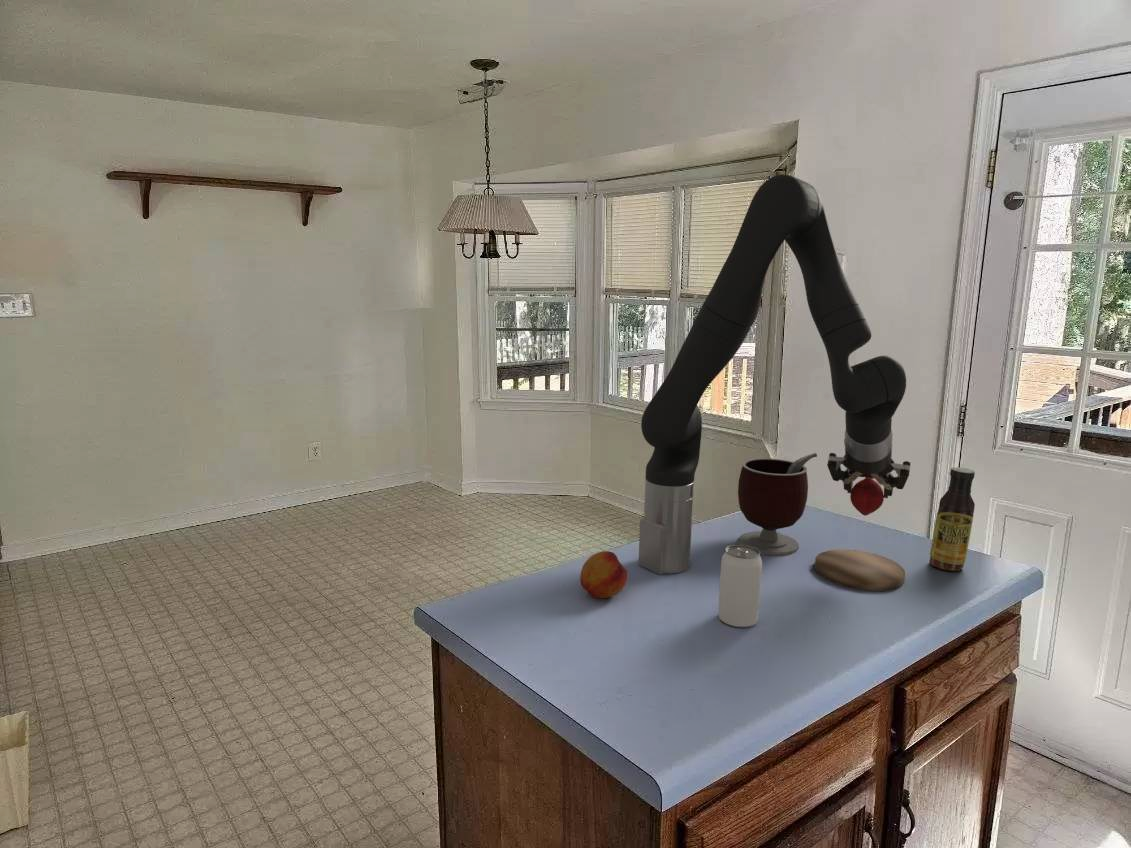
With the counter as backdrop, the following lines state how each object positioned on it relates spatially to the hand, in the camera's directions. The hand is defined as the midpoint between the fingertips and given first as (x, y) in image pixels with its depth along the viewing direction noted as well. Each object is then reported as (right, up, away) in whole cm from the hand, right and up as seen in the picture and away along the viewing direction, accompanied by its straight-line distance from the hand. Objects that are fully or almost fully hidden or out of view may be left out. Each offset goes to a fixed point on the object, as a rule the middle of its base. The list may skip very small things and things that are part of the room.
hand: (867, 491), depth 137 cm
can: (-29, -20, -17) cm, 39 cm away
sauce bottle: (+18, -15, +6) cm, 24 cm away
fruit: (-51, -18, -9) cm, 55 cm away
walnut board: (-1, -16, +2) cm, 16 cm away
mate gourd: (-14, -13, +16) cm, 25 cm away
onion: (-1, -5, -1) cm, 5 cm away
